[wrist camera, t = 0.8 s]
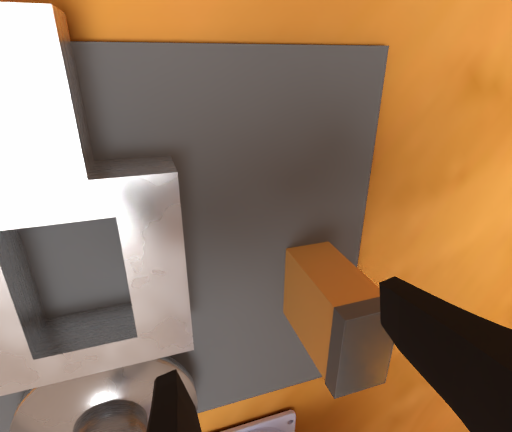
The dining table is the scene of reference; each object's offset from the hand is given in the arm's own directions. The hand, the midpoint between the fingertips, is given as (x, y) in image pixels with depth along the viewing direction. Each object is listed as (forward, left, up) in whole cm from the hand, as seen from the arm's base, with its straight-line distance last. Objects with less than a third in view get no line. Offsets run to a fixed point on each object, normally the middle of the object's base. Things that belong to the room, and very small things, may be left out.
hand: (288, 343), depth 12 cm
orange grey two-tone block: (-5, -6, -10) cm, 12 cm away
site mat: (-3, +2, -10) cm, 11 cm away
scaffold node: (-3, +7, -10) cm, 12 cm away
